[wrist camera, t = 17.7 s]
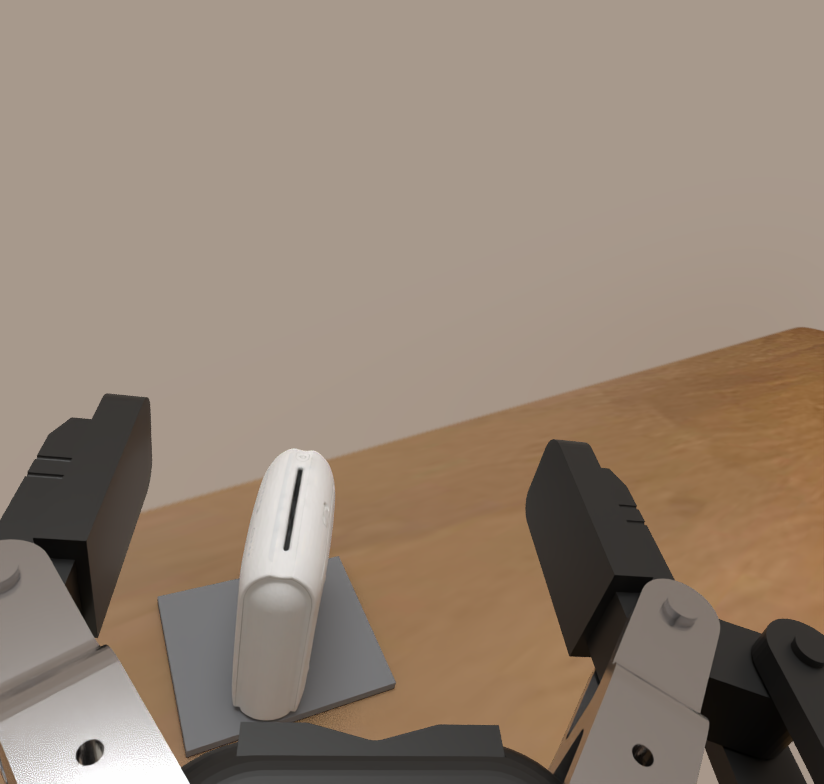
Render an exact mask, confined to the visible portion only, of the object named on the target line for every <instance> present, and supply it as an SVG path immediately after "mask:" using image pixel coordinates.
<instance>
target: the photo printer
mask: <svg viewBox="0 0 824 784" xmlns="http://www.w3.org/2000/svg"><path fill="white" fill-rule="evenodd" d="M334 507H335V486H334V479H333V474H332V471H331V468H330V466H329V464H328V462H327V461H326V460H325V458H324V457H323V456H322V455H320V454H319V453H318V452H316V451H313V450H312V451H302V450H299V449H296V448H294V449H289V450H287V451H285V452H283V453H282V454H280V455H279V456H278V457H277V458H276V459H275V460H274V461H273V462H272V464H271V465H270V466H269V468H268V470H267V471H266V473H265V475H264V478H263V480H262V483H261V486H260V489H259V492H258V495H257V499H256V502H255V505H254V509H253V513H252V517H251V521H250V525H249V530H248V534H247V539H246V544H245V549H244V554H243V559H242V564H241V570H240V580H239V593H238V605H237V618H236V630H235V643H234V657H233V673H232V701H233V705H234V706H238V707H240V709H241V711H242V712H243V713H245V714H246V715H248V716H250V717H252V718H254V719H258V720H275V719H278V718H281V717H283V716H285V715H287V714H288V713H289V712H290V711H294V712H295V711H296V710H297V707H298V705H299V703H300V700H301V697H302V694H303V691H304V688H305V684H306V678H307V673H308V670H309V661H310V656H311V650H312V644H313V638H314V632H315V627H316V622H317V616H318V611H319V606H320V601H321V596H322V591H323V586H324V582H325V580H326V570H327V564H328V558H329V551H330V544H331V537H332V528H333V518H334Z"/></svg>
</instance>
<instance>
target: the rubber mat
mask: <svg viewBox="0 0 824 784" xmlns="http://www.w3.org/2000/svg"><path fill="white" fill-rule="evenodd" d="M239 580H240V578H239V579H235V580H230V581H226V582H221V583H217V584H213V585H208V586H204V587H199V588H195V589H190V590H186V591H181V592H177V593H172V594H168V595H163V596H159V597H158V607H159V612H160V618H161V623H162V628H163V634H164V639H165V645H166V650H167V655H168V661H169V666H170V672H171V677H172V682H173V688H174V693H175V699H176V704H177V709H178V715H179V720H180V726H181V731H182V736H183V742H184V747H185V753H186V757H189V756H192V755H195V754H198V753H201V752H204V751H207V750H210V749H213V748H216V747H219V746H222V745H225V744H228V743H231V742H234V741H237V740H238V739H239V731H240V723H241V722H294V721H297V720H300V719H303V718H306V717H309V716H312V715H315V714H318V713H321V712H324V711H327V710H330V709H333V708H336V707H339V706H342V705H345V704H348V703H351V702H354V701H357V700H360V699H363V698H366V697H369V696H372V695H375V694H378V693H381V692H384V691H387V690H390V689H393V688H394V687H395V684H396V682H395V680H394V677H393V675H392V673H391V671H390V669H389V666H388V664H387V662H386V660H385V657H384V655H383V653H382V651H381V649H380V646H379V644H378V642H377V640H376V638H375V635H374V633H373V631H372V629H371V627H370V624H369V622H368V620H367V618H366V615H365V613H364V611H363V609H362V607H361V604H360V602H359V600H358V598H357V596H356V593H355V591H354V589H353V587H352V585H351V582H350V580H349V578H348V576H347V573H346V571H345V569H344V567H343V565H342V562H341V560H340V558H339V556H338V557H333V558H329V559H328V564H327V570H326V580H325V582H324V586H323V591H322V596H321V601H320V606H319V611H318V616H317V622H316V627H315V632H314V638H313V644H312V650H311V656H310V661H309V670H308V673H307V678H306V684H305V688H304V691H303V694H302V697H301V700H300V703H299V705H298V707H297V710H296V711H295V712H294V711H290V712H289V713H288V714H287V715H285V716H283V717H281V718H278V719H275V720H258V719H254V718H252V717H250V716H248V715H246V714H245V713H243V712H242V711H241V709H240V707H238V706H234V705H233V701H232V673H233V657H234V643H235V630H236V618H237V605H238V593H239Z"/></svg>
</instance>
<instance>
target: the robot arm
mask: <svg viewBox="0 0 824 784" xmlns="http://www.w3.org/2000/svg"><path fill="white" fill-rule="evenodd" d="M150 415H151V414H150V401H149V399H148V398H147V397H136V396H126V395H117V394H105V395H104V396H103V398H102V400H101V402H100V404H99V406H98V408H97V410H96V412H95V414H94V416H93V418H92V419H82V418H70V419H69V420H67V421H66V422H65V423H63V424H62V425H61V426H60V427H58V428H57V429H55V430H54V431H53V432H51V433H50V434H49V435H48V437H47V439H46V440H45V442H44V444H43V446H42V448H41V449H40V451H39V453H38V455H37V459H35V460H34V462H33V463H32V465H31V467H30V469H29V470H28V474H27V477H26V476H25V478H24V479H23V481H22V483H21V484H20V486H19V488H18V490H17V492H16V493H15V495H14V497H13V499H12V500H11V502H10V504H9V506H8V508H7V509H6V511H5V513H4V514H3V516H2V518H1V520H0V773H1V775H2V778H3V780H4V783H5V784H697V779H698V775H699V770H700V766H701V762H702V757H703V753H704V748H705V749H706V752H707V754H708V757H709V760H710V762H711V765H712V767H713V770H714V772H715V775H716V777H717V780H718V782H719V784H807V783H806V781H805V779H804V777H803V775H802V773H801V771H800V769H799V767H798V765H797V763H796V761H795V759H794V757H793V755H792V753H791V751H790V748H789V747H788V745H789V744H790V743H791V742H792V741H794V743H795V745H796V747H797V749H798V751H799V753H800V755H801V757H802V759H803V761H804V763H805V765H806V767H807V769H808V771H809V773H810V775H811V777H812V779H813V782H814V784H824V635H823V634H821V633H820V632H818V631H817V630H815V629H814V628H812V627H810V626H808V625H806V624H804V623H801V622H799V621H795V620H791V619H777V620H775V621H772V622H771V623H770V624H769V625H768V627H767V628H766V629H765V630H764V631H763V633H762V634H761V633H758V632H755V631H752V630H749V629H746V628H743V627H740V626H737V625H734V624H731V623H728V622H725V621H722V620H720V619H718V616H717V614H716V612H715V610H714V609H713V608H712V606H711V605H710V604H709V602H708V601H707V600H706V599H705V598H704V597H703V596H702V595H701V594H699V593H698V592H697V591H695V590H694V589H692V588H691V587H689V586H687V585H685V584H683V583H681V582H678V581H675V580H674V578H673V576H672V574H671V572H670V570H669V568H668V566H667V564H666V562H665V560H664V558H663V556H662V554H661V552H660V550H659V548H658V546H657V545H656V543H655V541H654V539H653V537H652V535H651V533H650V531H649V529H648V527H647V525H644V522H645V521H644V519H643V517H642V515H641V513H640V511H639V510H637V509H636V506H637V505H636V504H635V502H634V500H633V498H632V496H631V494H630V492H629V490H628V488H627V486H626V485H625V484H624V483H623V482H622V481H621V480H620V479H619V478H618V477H617V476H616V475H615V474H614V473H613V472H612V471H611V470H610V469H607V468H601V467H600V465H599V463H598V461H597V459H596V456H595V454H594V452H593V450H592V448H591V446H590V445H589V444H588V443H585V442H575V441H565V440H555V439H553V440H551V441H550V442H549V443H548V444H547V446H546V448H545V451H544V453H543V456H542V458H541V461H540V463H539V466H538V468H537V471H536V473H535V476H534V478H533V481H532V483H531V486H530V488H529V491H528V494H527V498H526V519H527V523H528V526H529V529H530V533H531V536H532V539H533V542H534V545H535V549H536V552H537V555H538V558H539V561H540V564H541V568H542V571H543V574H544V577H545V580H546V583H547V587H548V590H549V593H550V596H551V599H552V602H553V606H554V609H555V612H556V615H557V618H558V622H559V625H560V628H561V631H562V634H563V637H564V641H565V644H566V647H567V650H568V653H569V656H574V657H592V660H593V663H594V666H595V669H594V671H593V672H592V674H591V676H590V677H589V679H588V682H587V684H586V686H585V689H584V691H583V693H582V695H581V698H580V700H579V702H578V705H577V707H576V709H575V712H574V714H573V716H572V718H571V721H570V723H569V725H568V728H567V730H566V732H565V734H564V737H563V739H562V741H561V744H560V746H559V748H558V750H557V753H556V755H555V757H554V759H553V761H552V763H551V765H550V766H549V768H548V770H547V769H546V768H544V767H543V766H542V765H540V764H539V763H538V762H536V761H534V760H532V759H530V758H529V757H527V756H525V755H523V754H521V753H519V752H516V751H514V750H512V749H509V748H506V747H503V745H502V740H501V735H500V730H499V725H435V726H431V727H428V728H424V729H420V730H416V731H413V732H409V733H405V734H402V735H398V736H394V737H390V738H387V739H383V740H378V741H377V740H368V739H364V738H361V737H357V736H353V735H350V734H346V733H343V732H339V731H336V730H332V729H328V728H325V727H321V726H318V725H314V724H310V723H294V722H241V723H240V731H239V739H238V742H237V743H233V744H229V745H226V746H222V747H220V748H217V749H215V750H212V751H210V752H207V753H205V754H203V755H201V756H199V757H197V758H196V759H194V760H192V761H190V762H189V763H187V764H186V765H184V766H183V767H181V768H180V766H179V764H178V762H177V761H176V759H175V757H174V755H173V754H172V752H171V750H170V748H169V747H168V745H167V743H166V741H165V740H164V738H163V736H162V734H161V733H160V731H159V729H158V727H157V726H156V724H155V722H154V720H153V719H152V717H151V715H150V714H149V712H148V710H147V708H146V707H145V705H144V703H143V701H142V700H141V698H140V696H139V694H138V693H137V691H136V689H135V687H134V686H133V684H132V682H131V680H130V679H129V677H128V675H127V673H126V672H125V670H124V668H123V666H122V665H121V663H120V661H119V659H118V658H117V656H116V655H115V653H114V652H113V650H112V649H111V648H110V647H109V646H108V645H103V646H100V645H99V644H98V643H97V641H96V640H95V638H98V636H99V633H100V630H101V627H102V624H103V621H104V618H105V615H106V612H107V609H108V606H109V603H110V600H111V597H112V595H113V592H114V589H115V586H116V583H117V580H118V577H119V574H120V571H121V568H122V565H123V562H124V559H125V556H126V553H127V550H128V547H129V544H130V541H131V538H132V535H133V532H134V529H135V526H136V523H137V520H138V517H139V514H140V512H141V508H142V505H143V502H144V500H145V497H146V494H147V491H148V486H149V482H150V477H151V468H152V445H151V416H150Z"/></svg>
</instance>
